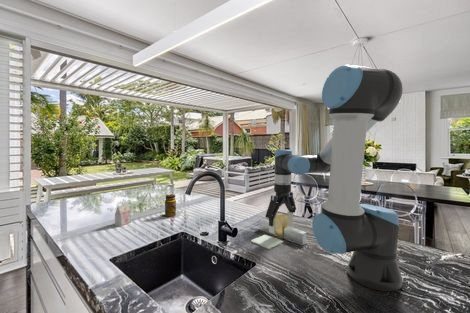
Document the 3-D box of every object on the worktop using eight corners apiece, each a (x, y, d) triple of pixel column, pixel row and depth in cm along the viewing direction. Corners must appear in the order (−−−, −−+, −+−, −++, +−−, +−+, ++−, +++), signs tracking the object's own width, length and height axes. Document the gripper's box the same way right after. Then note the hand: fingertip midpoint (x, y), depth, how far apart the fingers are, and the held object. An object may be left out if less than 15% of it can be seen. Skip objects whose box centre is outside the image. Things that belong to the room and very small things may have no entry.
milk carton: (115, 225, 119) (114, 206, 119) (125, 221, 126) (125, 203, 125) (120, 226, 118) (120, 207, 118) (130, 222, 125) (130, 203, 124)
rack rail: (306, 243, 102) (306, 232, 101) (302, 245, 100) (302, 234, 99) (263, 228, 119) (263, 218, 119) (259, 229, 117) (259, 219, 117)
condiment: (178, 216, 136) (178, 195, 135) (163, 219, 131) (163, 197, 130) (173, 213, 142) (173, 193, 141) (159, 215, 137) (159, 195, 136)
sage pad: (283, 242, 102) (283, 241, 102) (269, 249, 96) (269, 248, 96) (265, 235, 110) (265, 234, 110) (250, 241, 103) (250, 240, 103)
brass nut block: (287, 236, 109) (287, 215, 109) (282, 238, 107) (282, 216, 106) (280, 233, 112) (280, 213, 112) (274, 235, 110) (275, 214, 109)
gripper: (291, 179, 119) (289, 220, 121) (258, 185, 102) (257, 233, 104) (304, 181, 114) (303, 224, 115) (272, 188, 97) (270, 238, 98)
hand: (281, 229), depth 109 cm, fingers open, 13 cm apart
